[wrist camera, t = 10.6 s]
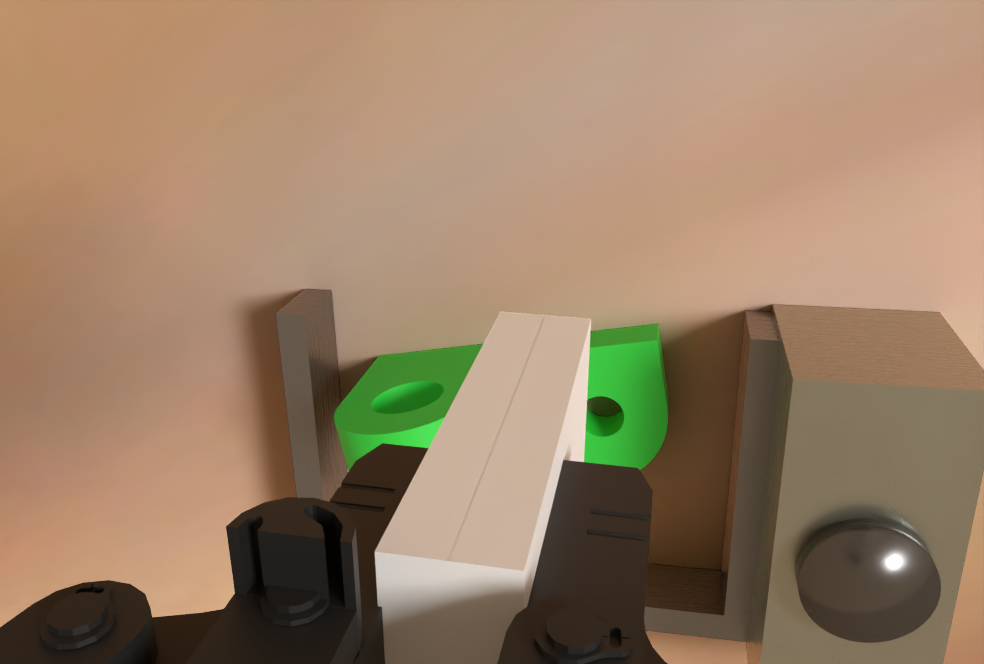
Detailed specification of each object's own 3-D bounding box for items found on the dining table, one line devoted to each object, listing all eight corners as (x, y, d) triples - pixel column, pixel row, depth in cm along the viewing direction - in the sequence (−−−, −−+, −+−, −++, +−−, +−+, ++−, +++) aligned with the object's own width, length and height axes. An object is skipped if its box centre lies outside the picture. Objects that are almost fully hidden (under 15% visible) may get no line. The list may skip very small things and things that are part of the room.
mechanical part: (411, 474, 41) (352, 582, 34) (380, 354, 39) (310, 440, 32) (677, 453, 38) (675, 566, 31) (658, 322, 36) (652, 409, 29)
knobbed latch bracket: (304, 282, 38) (217, 352, 31) (939, 312, 33) (1009, 403, 26) (331, 557, 43) (262, 672, 36) (885, 616, 39) (931, 761, 32)
